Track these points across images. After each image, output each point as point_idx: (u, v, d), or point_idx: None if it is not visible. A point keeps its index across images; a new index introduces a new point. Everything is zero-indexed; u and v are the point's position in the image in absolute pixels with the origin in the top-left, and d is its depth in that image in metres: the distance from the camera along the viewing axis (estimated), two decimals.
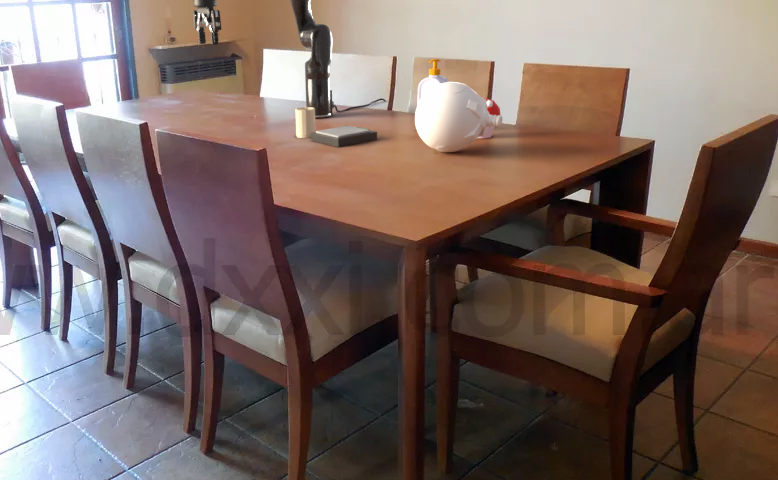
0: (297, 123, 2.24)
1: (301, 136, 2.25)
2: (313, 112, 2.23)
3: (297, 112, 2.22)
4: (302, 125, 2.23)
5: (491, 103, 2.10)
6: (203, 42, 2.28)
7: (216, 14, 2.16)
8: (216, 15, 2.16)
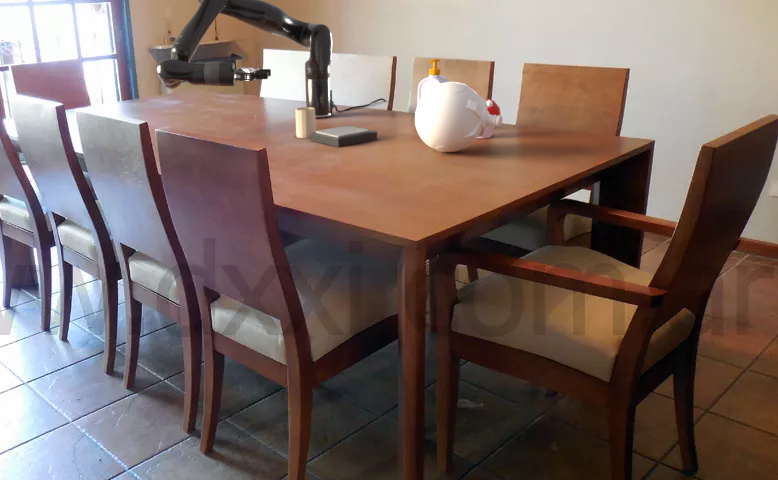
0: (297, 123, 2.24)
1: (301, 136, 2.25)
2: (313, 112, 2.23)
3: (297, 112, 2.22)
4: (302, 125, 2.23)
5: (491, 103, 2.10)
6: (269, 72, 2.23)
7: (238, 76, 2.14)
8: (239, 76, 2.14)
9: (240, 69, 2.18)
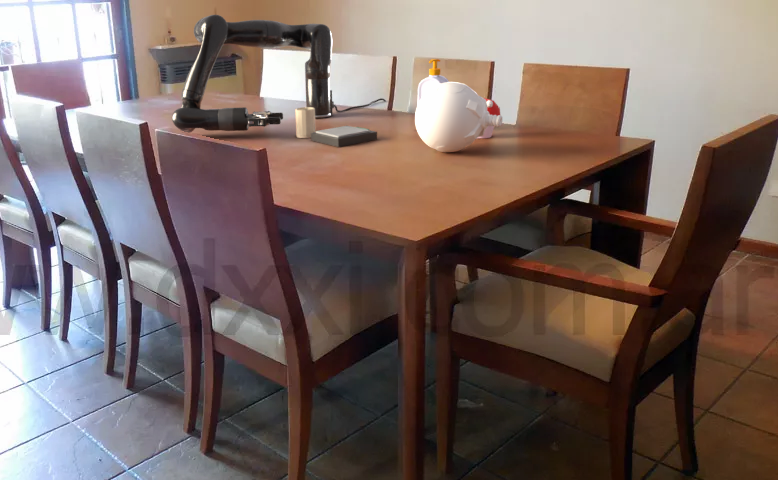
0: (297, 123, 2.24)
1: (301, 136, 2.25)
2: (313, 112, 2.23)
3: (297, 112, 2.22)
4: (302, 125, 2.23)
5: (491, 103, 2.10)
6: (281, 115, 2.29)
7: (251, 122, 2.20)
8: (252, 122, 2.20)
9: (253, 114, 2.24)
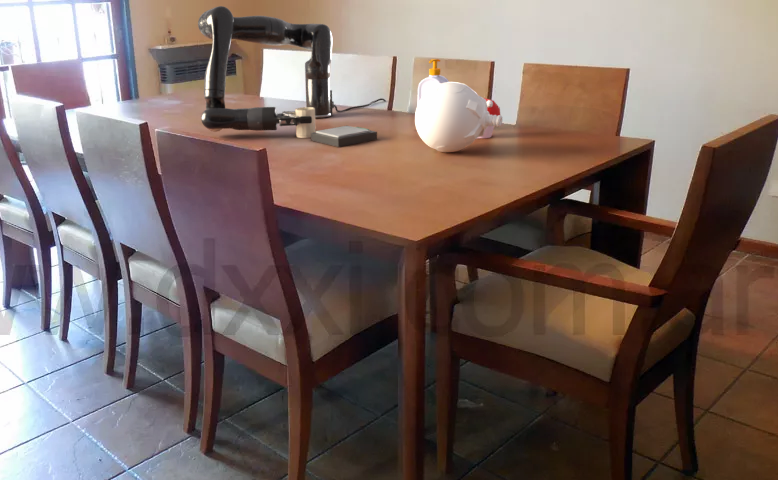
0: None
1: (301, 136, 2.25)
2: (313, 112, 2.23)
3: (297, 112, 2.22)
4: (302, 125, 2.23)
5: (491, 103, 2.10)
6: None
7: (283, 122, 2.19)
8: (284, 122, 2.19)
9: (283, 114, 2.23)
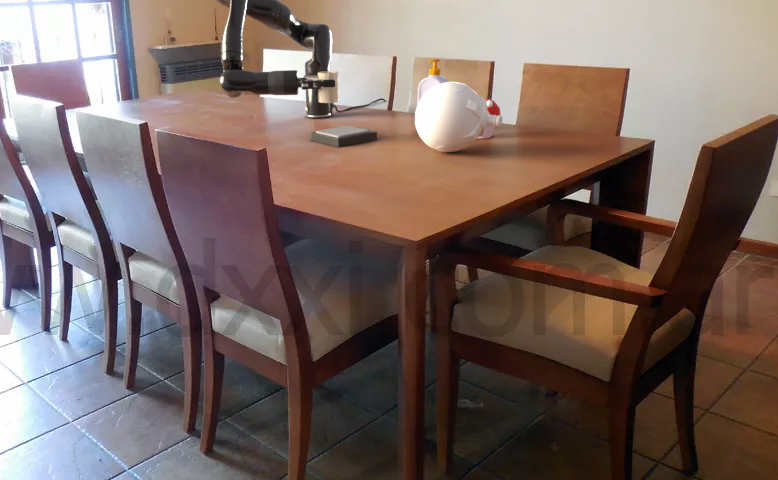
0: None
1: (324, 101, 2.15)
2: (336, 75, 2.13)
3: (320, 75, 2.13)
4: (325, 89, 2.13)
5: (491, 103, 2.10)
6: None
7: (305, 85, 2.10)
8: (306, 85, 2.10)
9: (305, 77, 2.13)
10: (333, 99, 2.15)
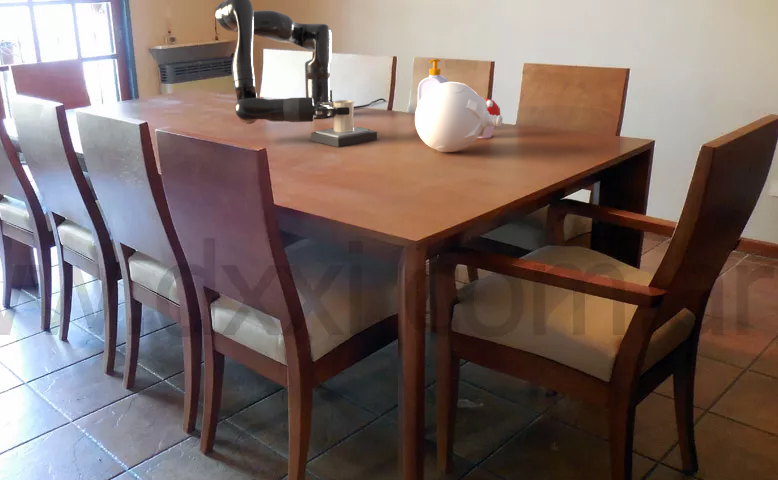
0: (335, 117, 2.15)
1: (339, 130, 2.16)
2: (352, 105, 2.14)
3: (335, 105, 2.13)
4: (340, 119, 2.14)
5: (491, 103, 2.10)
6: None
7: (319, 113, 2.10)
8: (320, 113, 2.10)
9: (320, 105, 2.14)
10: (348, 128, 2.15)
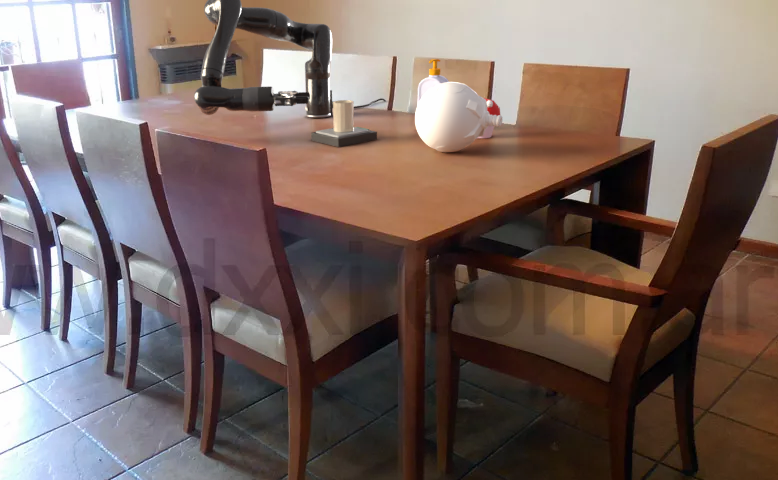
0: (335, 117, 2.15)
1: (339, 130, 2.16)
2: (352, 105, 2.14)
3: (335, 105, 2.13)
4: (340, 119, 2.14)
5: (491, 103, 2.10)
6: (308, 95, 2.19)
7: (278, 102, 2.09)
8: (279, 102, 2.09)
9: (279, 94, 2.13)
10: (348, 128, 2.15)
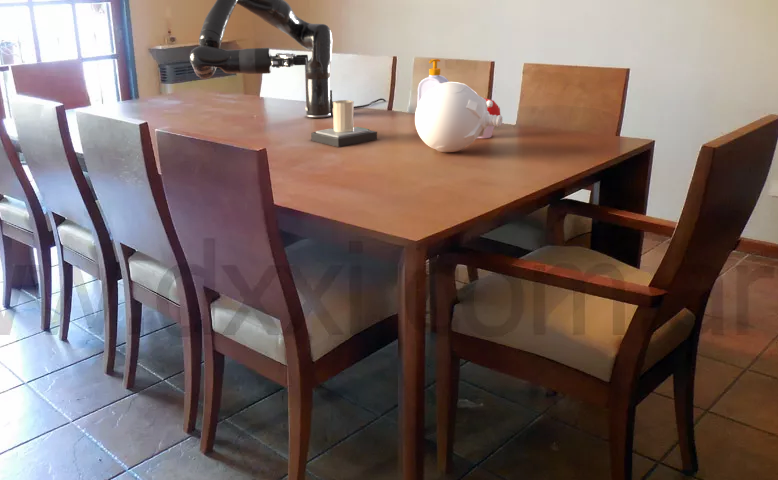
0: (335, 117, 2.15)
1: (339, 130, 2.16)
2: (352, 105, 2.14)
3: (335, 105, 2.13)
4: (340, 119, 2.14)
5: (491, 103, 2.10)
6: (306, 57, 2.14)
7: (275, 62, 2.05)
8: (276, 63, 2.05)
9: (277, 55, 2.08)
10: (348, 128, 2.15)
